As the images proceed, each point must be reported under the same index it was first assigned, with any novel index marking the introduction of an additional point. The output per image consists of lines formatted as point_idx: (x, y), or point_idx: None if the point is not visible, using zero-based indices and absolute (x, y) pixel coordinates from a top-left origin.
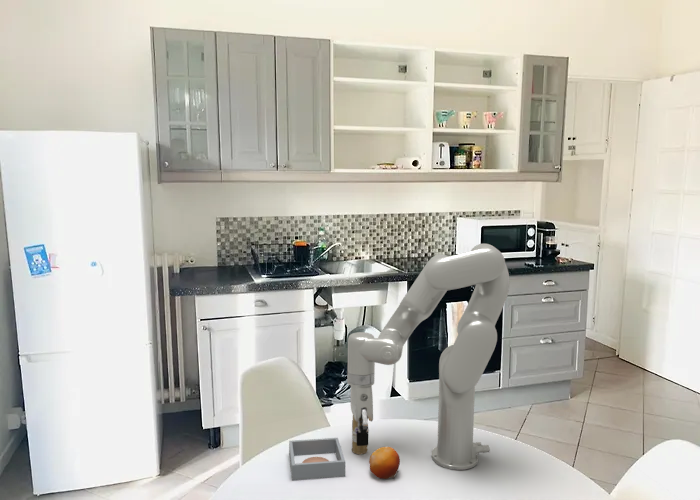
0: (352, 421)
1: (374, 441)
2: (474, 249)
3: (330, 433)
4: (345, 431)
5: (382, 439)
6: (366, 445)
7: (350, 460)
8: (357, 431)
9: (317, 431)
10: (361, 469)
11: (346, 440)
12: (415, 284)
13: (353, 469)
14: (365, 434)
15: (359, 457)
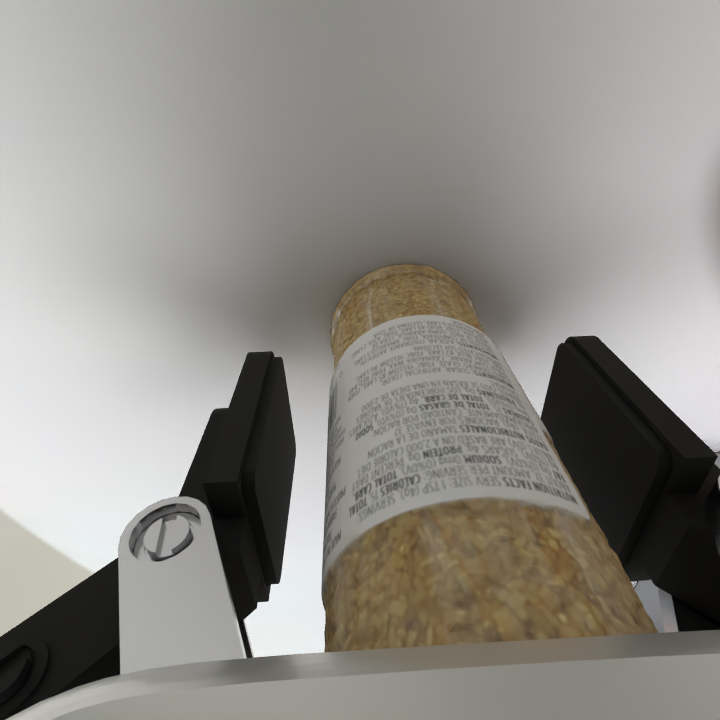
0: (262, 592)
1: (188, 143)
2: None
3: (84, 495)
4: (10, 400)
5: (115, 9)
6: (462, 308)
7: (533, 407)
8: (633, 574)
9: (72, 555)
10: (696, 349)
11: (194, 406)
12: None
13: (666, 400)
14: (716, 475)
15: (508, 342)
